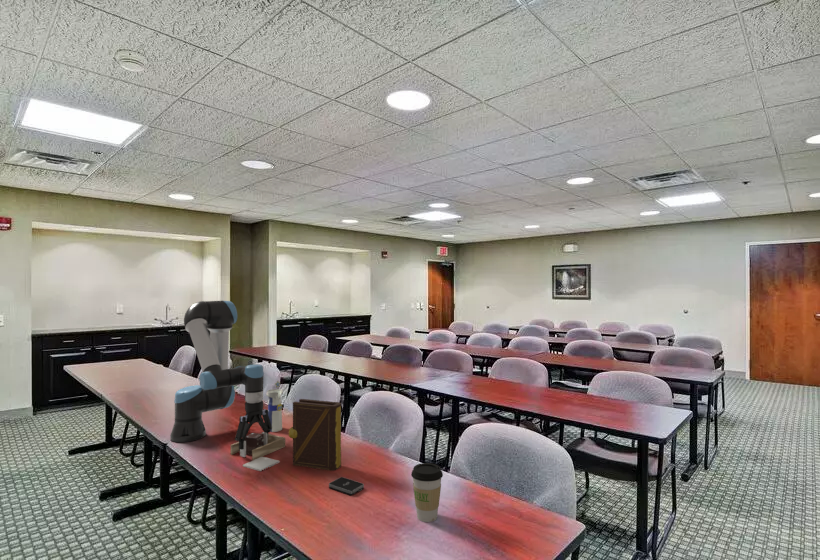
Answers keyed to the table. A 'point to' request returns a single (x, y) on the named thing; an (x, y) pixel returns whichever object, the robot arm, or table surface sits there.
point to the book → (316, 434)
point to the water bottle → (275, 408)
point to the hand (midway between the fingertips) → (254, 451)
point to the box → (254, 442)
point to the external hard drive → (346, 486)
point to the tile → (261, 463)
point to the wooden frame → (263, 447)
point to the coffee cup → (427, 490)
